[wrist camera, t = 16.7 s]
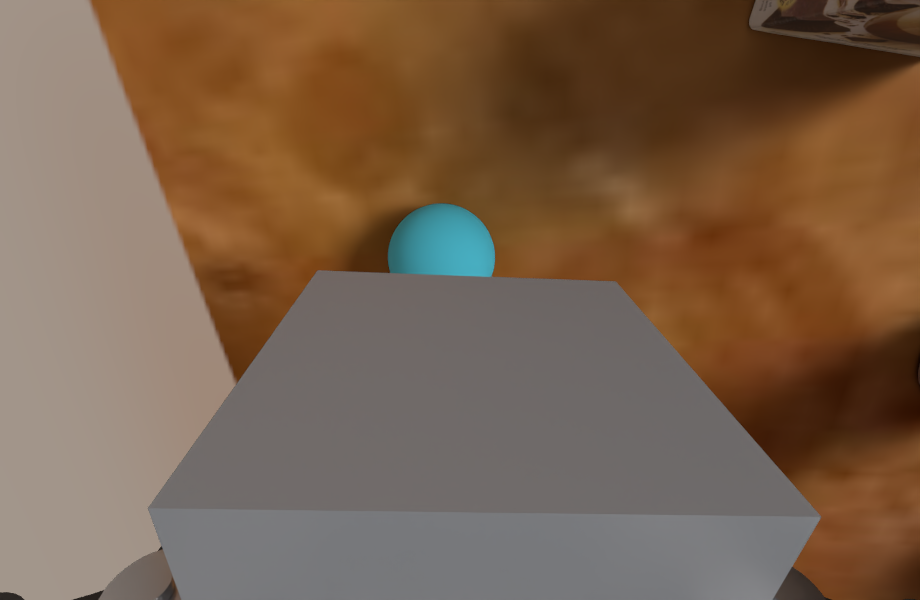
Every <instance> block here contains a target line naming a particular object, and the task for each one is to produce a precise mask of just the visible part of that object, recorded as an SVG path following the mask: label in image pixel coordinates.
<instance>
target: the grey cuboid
mask: <svg viewBox="0 0 920 600" xmlns="http://www.w3.org/2000/svg"><path fill="white" fill-rule="evenodd" d="M148 510H149V513H150V515H151V518H152V521H153V524H154V527H155V529H156V532H157V534H158V537H159V540H160V543H161V546H162V548H163V551H164V554H165V557H166V559H167V562H168V565H169V567H170V570H171V573H172V576H173V578H174V581H175V584H176V587H177V589H178V592H179V595H180V597H181V600H773V598H774V596H775V595H776V593H777V591H778V589H779V588H780V586H781V584H782V583H783V581H784V579H785V578H786V576H787V574H788V573H789V571H790V569H791V567H792V566H793V564H794V562H795V561H796V559H797V557H798V556H799V554H800V552H801V550H802V549H803V547H804V545H805V544H806V542H807V540H808V539H809V537H810V535H811V534H812V532H813V530H814V528H815V527H816V525H817V523H818V522H819V520H820V518H821V516H820V515H819V514H818V513H817V511H816V510H815V509H814V508H813V507H812V506H811V505H810V503H809V502H808V501H807V500H806V499H805V498H804V497H803V495H802V494H801V493H800V492H799V491H798V490H797V489H796V487H795V486H794V485H793V484H792V483H791V482H790V481H789V479H788V478H787V477H786V476H785V475H784V474H783V473H782V471H781V470H780V469H779V468H778V467H777V466H776V465H775V463H774V462H773V461H772V460H771V459H770V458H769V457H768V455H767V454H766V453H765V452H764V451H763V450H762V448H761V447H760V446H759V445H758V444H757V443H756V442H755V440H754V439H753V438H752V437H751V436H750V435H749V434H748V432H747V431H746V430H745V429H744V428H743V427H742V426H741V424H740V423H739V422H738V421H737V420H736V419H735V418H734V416H733V415H732V414H731V413H730V412H729V411H728V410H727V408H726V407H725V406H724V405H723V404H722V403H721V402H720V400H719V399H718V398H717V397H716V396H715V395H714V394H713V392H712V391H711V390H710V389H709V388H708V387H707V386H706V384H705V383H704V382H703V381H702V380H701V379H700V378H699V376H698V375H697V374H696V373H695V372H694V371H693V370H692V368H691V367H690V366H689V365H688V364H687V363H686V362H685V360H684V359H683V358H682V357H681V356H680V355H679V353H678V352H677V351H676V350H675V349H674V348H673V347H672V345H671V344H670V343H669V342H668V341H667V340H666V339H665V337H664V336H663V335H662V334H661V333H660V332H659V331H658V329H657V328H656V327H655V326H654V325H653V324H652V323H651V321H650V320H649V319H648V318H647V317H646V316H645V315H644V313H643V312H642V311H641V310H640V309H639V308H638V307H637V305H636V304H635V303H634V302H633V301H632V300H631V299H630V297H629V296H628V295H627V294H626V293H625V292H624V291H623V289H622V288H621V287H620V286H619V285H618V284H617V283H616V282H614V281H588V280H561V279H534V278H507V277H481V276H454V275H427V274H400V273H373V272H347V271H320V270H318V271H317V272H316V273H315V275H314V276H313V278H312V279H311V280H310V282H309V283H308V285H307V286H306V287H305V289H304V290H303V292H302V293H301V294H300V296H299V297H298V299H297V300H296V301H295V303H294V304H293V306H292V307H291V308H290V310H289V311H288V313H287V314H286V315H285V317H284V318H283V320H282V321H281V322H280V324H279V325H278V327H277V328H276V329H275V331H274V332H273V334H272V335H271V336H270V338H269V339H268V341H267V342H266V343H265V345H264V346H263V348H262V349H261V350H260V352H259V353H258V355H257V356H256V357H255V359H254V360H253V362H252V363H251V364H250V366H249V367H248V369H247V370H246V371H245V373H244V374H243V376H242V377H241V378H240V380H239V381H238V383H237V384H236V386H235V387H234V388H233V390H232V391H231V393H230V394H229V395H228V397H227V398H226V400H225V401H224V402H223V404H222V405H221V407H220V408H219V410H218V411H217V412H216V414H215V415H214V416H213V418H212V419H211V421H210V422H209V423H208V425H207V426H206V428H205V429H204V430H203V432H202V433H201V435H200V436H199V437H198V439H197V440H196V442H195V443H194V444H193V446H192V447H191V449H190V450H189V451H188V453H187V454H186V456H185V457H184V458H183V460H182V461H181V463H180V464H179V465H178V467H177V468H176V470H175V471H174V473H173V474H172V475H171V477H170V478H169V479H168V481H167V482H166V484H165V485H164V486H163V488H162V489H161V491H160V492H159V493H158V495H157V496H156V498H155V499H154V501H153V502H152V504H151V505H150V506H149V507H148Z"/></svg>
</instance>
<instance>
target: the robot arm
mask: <svg viewBox="0 0 920 600" xmlns="http://www.w3.org/2000/svg"><path fill="white" fill-rule="evenodd" d="M918 377H919V384H920V365H919V370H918ZM0 600H24V599H23V598H22V597H21V596H19V595H17V594H14V593H8V592H4V593H0ZM74 600H181V597H180V595H179V592H178V589H177V587H176V584H175V581H174V578H173V576H172V573H171V570H170V567H169V565H168V562H167V559H166V557H165V554H164V551H163V548H162V546H161V547H160V549H159V550H158V551H157V552H153V553H151V554H148V555H147V556H144V557H142V558H141V559H139V560H137V561H135V562H134V563H132V564H131V565H130V566H128V567H127V568H125V569H124V570H123V571H122V572H121V573H119V574H118V575H117V576H116V577H115V578H114V579H113V581H111V582H110V584H109V585H108V586H107V587H106V589H105V590H103V591H100V592H97V593H94V594H91V595H88V596H84V597H81V598H77V599H74ZM773 600H831V599H828V598H825V597H824V596H823V595H822V593H821V592H820V591H819V590H818V589H817V587H816V586H815V585H814V584H813V583H812V582H811V581H810V580H809V579H808V578H806V577H805V576H804V575H803V574H802V573H800V572H799V571H798V570H796V569H795V568H793V567H791V569H790V571H789V573H788V574H787V576H786V578H785V579H784V581H783V583H782V584H781V586H780V588H779V589H778V591H777V593H776V595H775V596H774V598H773ZM904 600H915V599H904Z"/></svg>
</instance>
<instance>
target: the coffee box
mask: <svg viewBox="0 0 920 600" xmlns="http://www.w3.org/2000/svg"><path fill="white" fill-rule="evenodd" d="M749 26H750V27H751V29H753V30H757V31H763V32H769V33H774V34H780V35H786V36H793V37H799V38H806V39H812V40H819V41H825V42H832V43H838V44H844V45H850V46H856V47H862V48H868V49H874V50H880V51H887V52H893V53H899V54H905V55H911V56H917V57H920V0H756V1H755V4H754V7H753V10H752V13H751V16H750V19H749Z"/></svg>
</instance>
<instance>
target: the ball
mask: <svg viewBox="0 0 920 600" xmlns="http://www.w3.org/2000/svg"><path fill="white" fill-rule="evenodd" d="M494 264H495V251H494V245H493V242H492V239H491V236H490V234H489V232H488V230H487V228H486V227H485V225H484V224H483V223H482V222H481V221H480V220H479V219H478V218H477V217H476V216H475V215H474V214H472V213H471V212H469V211H468V210H466V209H464V208H462V207H459V206H456V205H452V204H444V203H439V204H431V205H427V206H424V207H421V208H419V209H416V210H415V211H413V212H412V213H410V214H409V215H407V216H406V217H405V218H404V219H403V220H402V221H401V222H400V224H399V225H398V226H397V228H396V229H395V231H394V233H393V235H392V238H391V241H390V244H389V249H388V265H389V270H390V273H400V274H427V275H454V276H481V277H491V276H492V273H493V270H494Z"/></svg>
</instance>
